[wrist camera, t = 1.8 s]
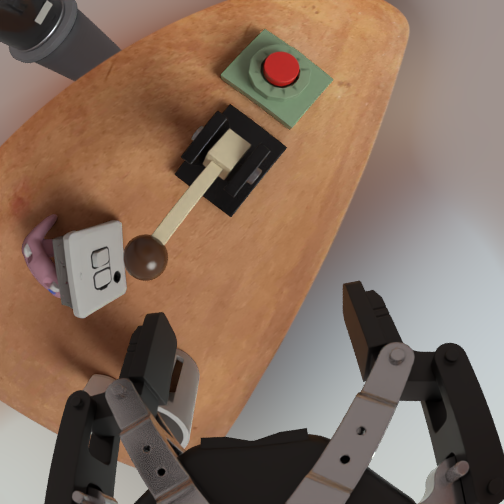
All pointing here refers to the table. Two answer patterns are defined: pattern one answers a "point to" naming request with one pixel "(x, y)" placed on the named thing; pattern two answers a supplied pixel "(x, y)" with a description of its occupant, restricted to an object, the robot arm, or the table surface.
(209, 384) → the table surface
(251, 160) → the bracket
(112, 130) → the table surface
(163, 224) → the lever
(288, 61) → the button
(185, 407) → the cup
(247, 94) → the button block
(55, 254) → the electrical switch
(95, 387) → the eye dropper bottle
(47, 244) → the video game controller
